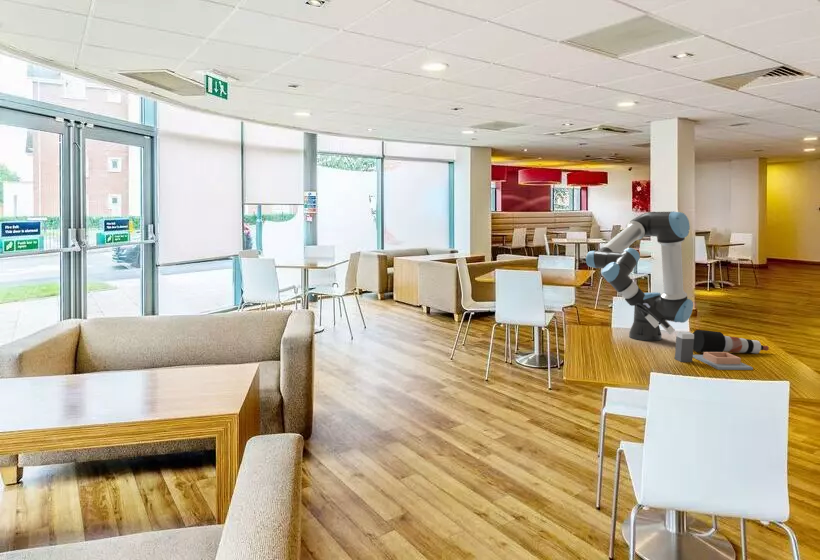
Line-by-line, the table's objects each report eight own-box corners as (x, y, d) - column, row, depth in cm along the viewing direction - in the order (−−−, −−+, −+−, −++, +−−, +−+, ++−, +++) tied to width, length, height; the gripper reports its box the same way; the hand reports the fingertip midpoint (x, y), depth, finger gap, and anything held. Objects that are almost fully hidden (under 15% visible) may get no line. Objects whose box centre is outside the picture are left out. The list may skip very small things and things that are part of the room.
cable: (767, 363, 250) (779, 347, 244) (697, 356, 247) (707, 339, 241) (756, 349, 258) (766, 332, 252) (688, 342, 255) (697, 325, 250)
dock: (692, 356, 242) (692, 349, 242) (723, 357, 242) (724, 349, 242) (718, 369, 222) (718, 361, 222) (752, 369, 222) (753, 361, 222)
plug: (674, 358, 238) (676, 331, 237) (686, 358, 238) (688, 331, 237) (680, 361, 233) (682, 334, 232) (692, 362, 234) (694, 334, 232)
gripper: (613, 295, 245) (645, 329, 246) (637, 304, 220) (672, 341, 222) (626, 283, 244) (657, 317, 246) (651, 291, 219) (686, 328, 221)
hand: (664, 329), depth 234 cm, fingers open, 13 cm apart
